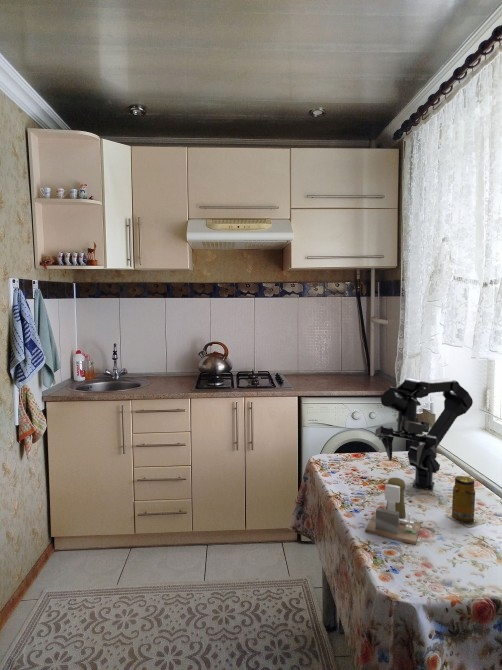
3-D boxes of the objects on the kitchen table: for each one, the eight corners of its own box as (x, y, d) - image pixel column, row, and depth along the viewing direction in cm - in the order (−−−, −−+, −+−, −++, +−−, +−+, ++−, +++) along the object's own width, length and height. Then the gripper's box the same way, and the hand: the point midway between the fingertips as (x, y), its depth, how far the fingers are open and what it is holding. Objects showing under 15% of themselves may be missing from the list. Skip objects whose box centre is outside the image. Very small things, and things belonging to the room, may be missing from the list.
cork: (407, 520, 134) (408, 484, 133) (385, 517, 135) (386, 482, 134) (404, 510, 140) (405, 476, 139) (384, 508, 141) (385, 474, 140)
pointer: (406, 528, 127) (406, 512, 127) (412, 529, 127) (412, 513, 126) (405, 529, 126) (406, 513, 126) (411, 531, 126) (412, 515, 125)
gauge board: (374, 515, 137) (374, 495, 136) (421, 525, 131) (421, 504, 130) (365, 531, 127) (365, 510, 127) (415, 544, 121) (416, 522, 120)
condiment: (461, 510, 140) (463, 472, 139) (485, 522, 133) (488, 483, 131) (444, 515, 137) (446, 477, 136) (468, 528, 129) (470, 488, 128)
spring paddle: (385, 516, 134) (386, 483, 133) (414, 522, 130) (415, 489, 129) (383, 519, 132) (384, 486, 131) (413, 526, 128) (414, 492, 127)
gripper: (388, 404, 142) (385, 454, 136) (446, 416, 142) (445, 466, 136) (376, 411, 152) (372, 458, 146) (430, 423, 152) (428, 470, 147)
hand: (404, 463), depth 144 cm, fingers open, 9 cm apart
